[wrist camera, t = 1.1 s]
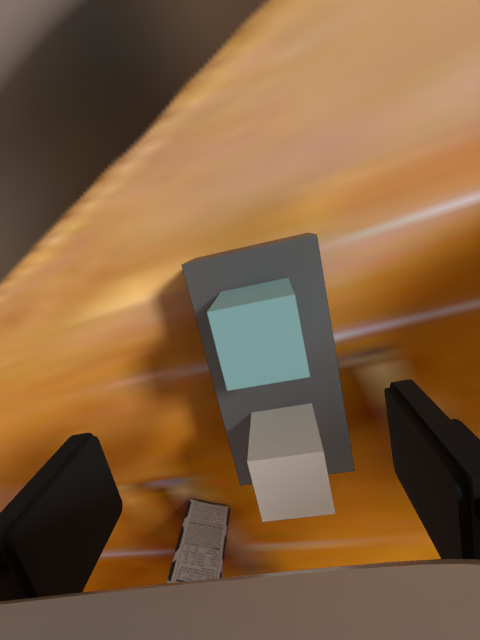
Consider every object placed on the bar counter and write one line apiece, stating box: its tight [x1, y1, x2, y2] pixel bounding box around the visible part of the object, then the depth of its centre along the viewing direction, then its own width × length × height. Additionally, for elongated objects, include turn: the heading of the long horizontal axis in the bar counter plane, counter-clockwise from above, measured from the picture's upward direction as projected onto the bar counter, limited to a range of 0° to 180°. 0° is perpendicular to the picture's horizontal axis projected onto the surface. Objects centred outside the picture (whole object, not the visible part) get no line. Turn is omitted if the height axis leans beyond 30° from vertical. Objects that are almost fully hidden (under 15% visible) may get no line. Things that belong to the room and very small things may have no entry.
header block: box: [182, 233, 355, 522], centre depth 26 cm, size 10×20×11 cm, turn 13°
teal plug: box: [207, 278, 310, 391], centre depth 25 cm, size 5×5×12 cm
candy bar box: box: [166, 499, 230, 583], centre depth 31 cm, size 11×5×16 cm, turn 172°
